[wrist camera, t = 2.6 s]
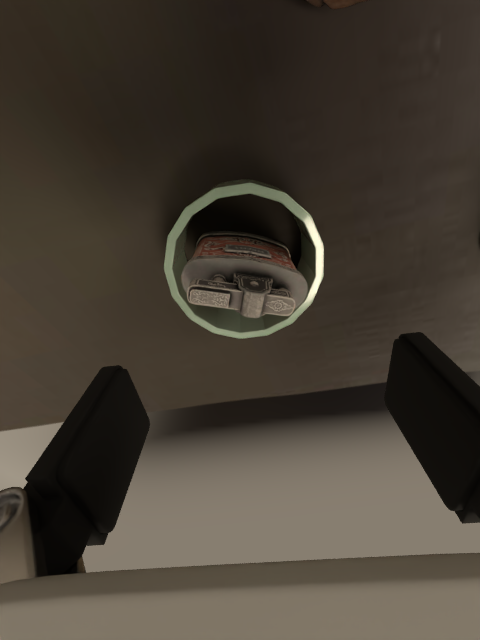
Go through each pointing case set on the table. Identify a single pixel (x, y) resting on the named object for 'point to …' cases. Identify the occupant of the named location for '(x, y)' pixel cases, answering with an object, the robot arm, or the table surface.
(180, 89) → the table surface
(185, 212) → the pale green hollow ring
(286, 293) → the lighter
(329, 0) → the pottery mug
